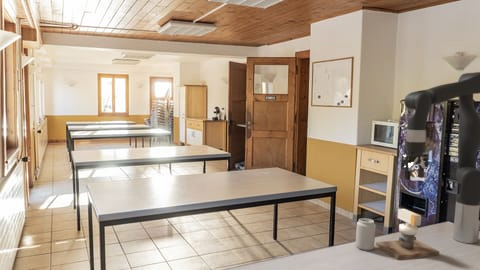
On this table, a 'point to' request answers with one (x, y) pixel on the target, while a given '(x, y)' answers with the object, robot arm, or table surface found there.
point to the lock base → (406, 252)
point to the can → (365, 234)
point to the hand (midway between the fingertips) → (414, 178)
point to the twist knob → (409, 222)
